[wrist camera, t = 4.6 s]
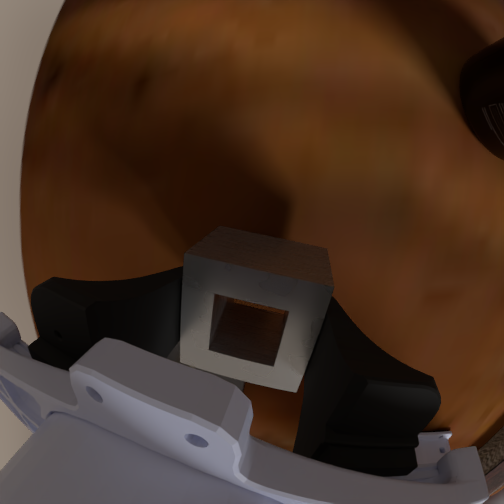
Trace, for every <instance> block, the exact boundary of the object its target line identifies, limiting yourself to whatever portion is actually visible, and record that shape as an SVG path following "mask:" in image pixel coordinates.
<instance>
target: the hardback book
mask: <svg viewBox="0 0 504 504" xmlns="http://www.w3.org/2000/svg"><path fill="white" fill-rule="evenodd" d="M478 455H479V458H480V461H481V465H482V469H483V472H484V476H485V480H486V484H487V489H488V493H489V495H491V494H492V493H494V492H495V491H496V490H498V489H499V488H501V487H502V486H503V485H504V426H503V427H502V428H501V429H500V430H499V431H498V432H497V433H496V434H495V435H494V436H493V437H492V438H491V439H490V440H489V441H488V442H487V443H486V444H485V445H484V446H483V447H481V448H480V449H479V450H478Z"/></svg>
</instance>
